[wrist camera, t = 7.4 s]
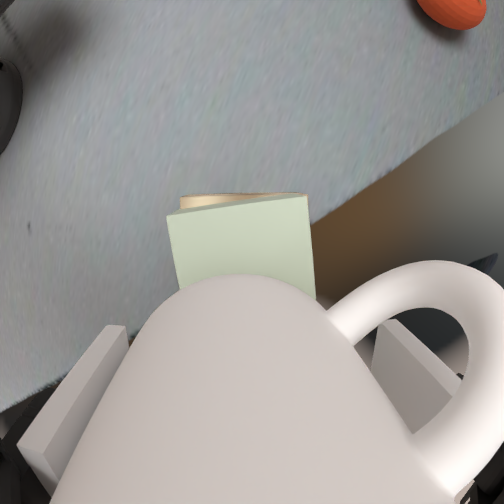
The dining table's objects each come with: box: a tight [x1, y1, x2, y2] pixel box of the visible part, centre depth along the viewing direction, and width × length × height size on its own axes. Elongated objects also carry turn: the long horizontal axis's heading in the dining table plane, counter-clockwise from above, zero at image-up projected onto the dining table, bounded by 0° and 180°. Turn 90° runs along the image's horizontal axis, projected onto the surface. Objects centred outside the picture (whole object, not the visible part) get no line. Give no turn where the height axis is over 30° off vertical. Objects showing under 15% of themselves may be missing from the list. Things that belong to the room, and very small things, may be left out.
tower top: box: [166, 193, 316, 301], centre depth 26 cm, size 10×10×5 cm
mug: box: [49, 260, 504, 504], centre depth 7 cm, size 12×8×10 cm
